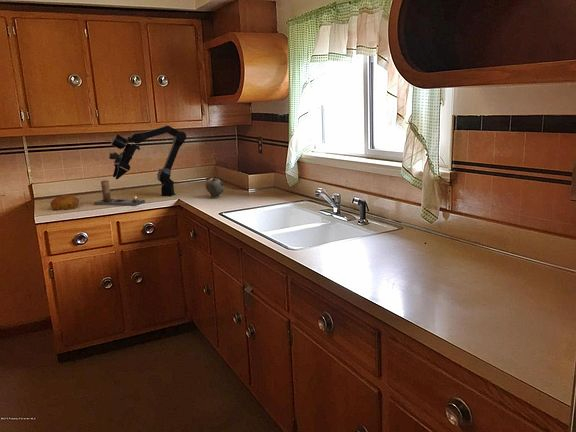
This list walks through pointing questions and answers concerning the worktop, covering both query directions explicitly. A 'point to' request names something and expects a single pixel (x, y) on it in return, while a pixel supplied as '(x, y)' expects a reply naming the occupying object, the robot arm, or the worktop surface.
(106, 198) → the dowel
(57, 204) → the bread loaf
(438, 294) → the worktop surface
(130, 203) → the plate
